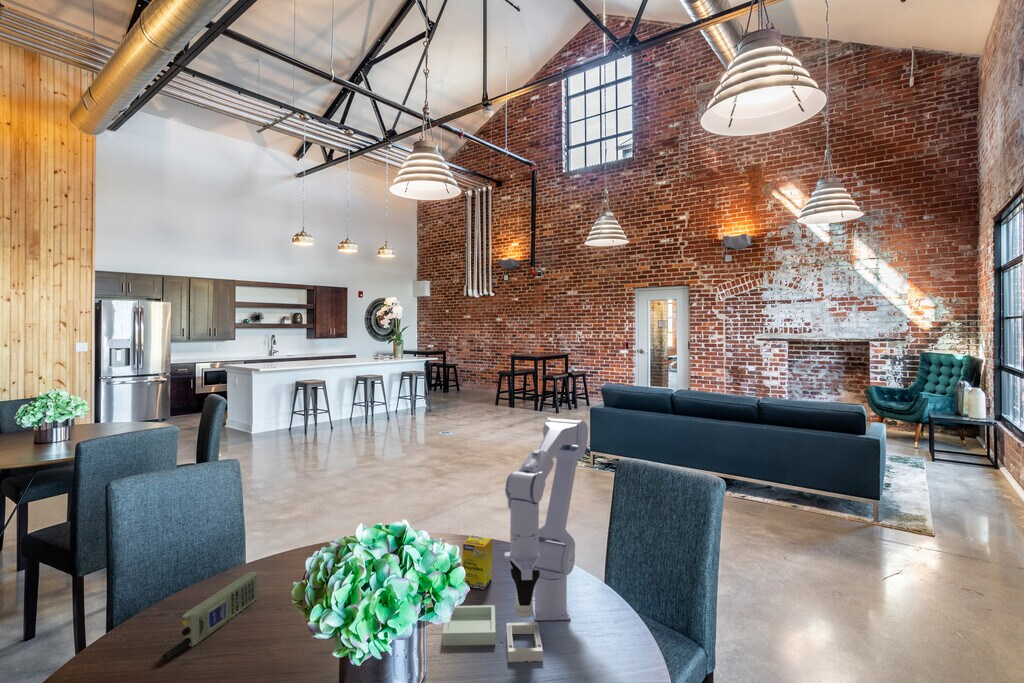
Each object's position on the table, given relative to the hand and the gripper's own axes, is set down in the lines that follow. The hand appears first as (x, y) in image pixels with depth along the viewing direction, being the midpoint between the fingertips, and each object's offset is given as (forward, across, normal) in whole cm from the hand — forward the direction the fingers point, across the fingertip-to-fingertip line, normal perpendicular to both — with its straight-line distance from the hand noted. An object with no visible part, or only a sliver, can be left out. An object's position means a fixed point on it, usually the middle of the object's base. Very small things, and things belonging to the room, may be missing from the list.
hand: (524, 599), depth 102 cm
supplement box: (+10, -27, -10) cm, 30 cm away
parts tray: (+9, -6, -11) cm, 16 cm away
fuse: (+3, 0, 0) cm, 3 cm away
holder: (+9, 0, 0) cm, 9 cm away
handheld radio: (+10, -9, -66) cm, 67 cm away
